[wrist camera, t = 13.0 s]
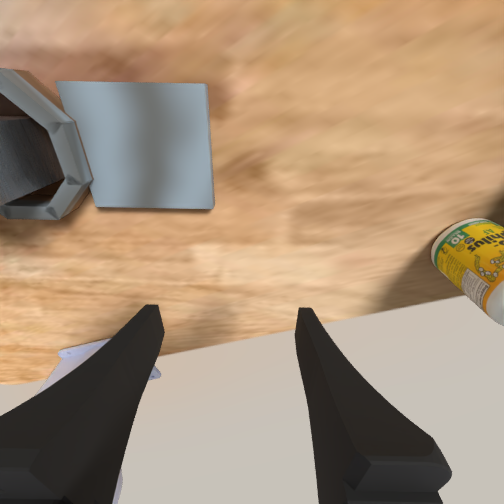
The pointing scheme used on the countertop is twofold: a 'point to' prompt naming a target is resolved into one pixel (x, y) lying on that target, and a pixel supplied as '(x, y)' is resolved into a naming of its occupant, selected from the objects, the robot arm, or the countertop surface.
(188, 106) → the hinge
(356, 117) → the countertop surface
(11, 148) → the grey metal brick
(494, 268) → the supplement bottle
